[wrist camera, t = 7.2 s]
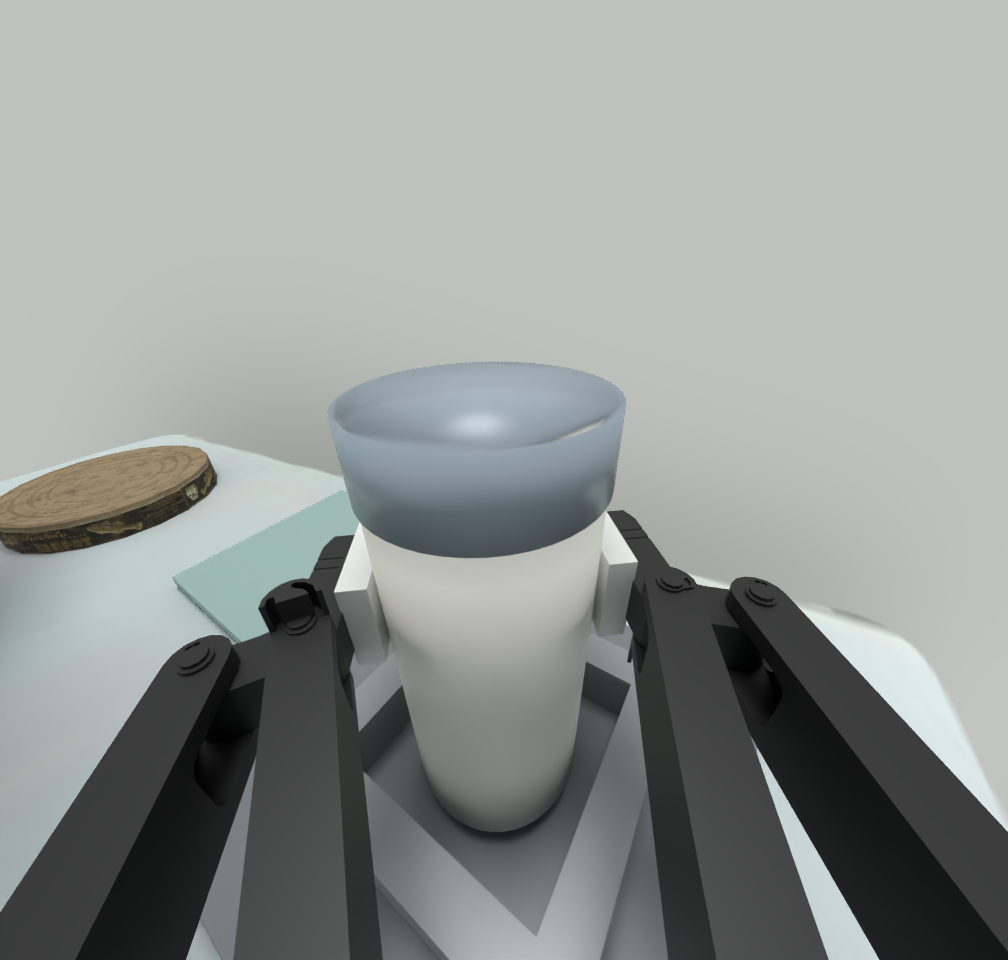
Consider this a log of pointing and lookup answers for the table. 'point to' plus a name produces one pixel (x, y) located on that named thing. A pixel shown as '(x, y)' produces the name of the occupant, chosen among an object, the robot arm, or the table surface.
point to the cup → (485, 563)
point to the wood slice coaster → (104, 499)
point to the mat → (264, 565)
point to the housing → (498, 841)
